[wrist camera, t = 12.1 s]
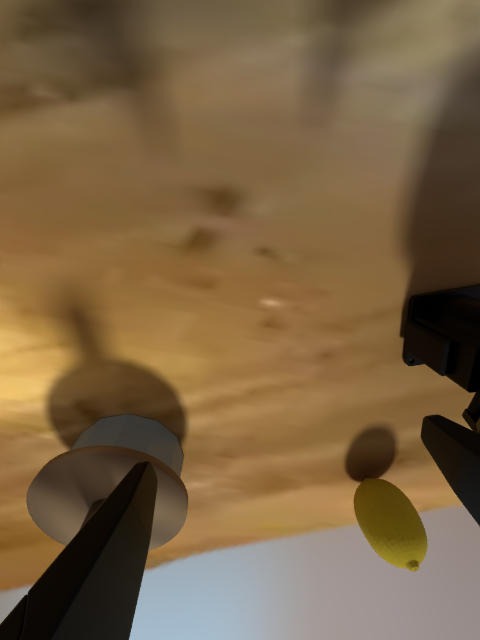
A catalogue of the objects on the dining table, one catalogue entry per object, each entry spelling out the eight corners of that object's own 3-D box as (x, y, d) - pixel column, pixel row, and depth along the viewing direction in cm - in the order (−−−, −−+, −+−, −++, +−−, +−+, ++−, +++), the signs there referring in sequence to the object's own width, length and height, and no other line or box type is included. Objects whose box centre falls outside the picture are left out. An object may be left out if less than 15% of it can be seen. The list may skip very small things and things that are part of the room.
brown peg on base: (75, 419, 18) (-177, 751, 7) (217, 486, 21) (206, 785, 10) (10, 514, 21) (-232, 842, 10) (141, 559, 24) (70, 845, 13)
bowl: (167, 407, 23) (154, 448, 19) (192, 480, 27) (185, 528, 23) (62, 424, 24) (26, 468, 19) (100, 494, 27) (78, 544, 23)
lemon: (358, 501, 30) (401, 595, 22) (332, 478, 28) (370, 571, 21) (399, 478, 29) (459, 569, 21) (374, 453, 27) (430, 541, 20)
